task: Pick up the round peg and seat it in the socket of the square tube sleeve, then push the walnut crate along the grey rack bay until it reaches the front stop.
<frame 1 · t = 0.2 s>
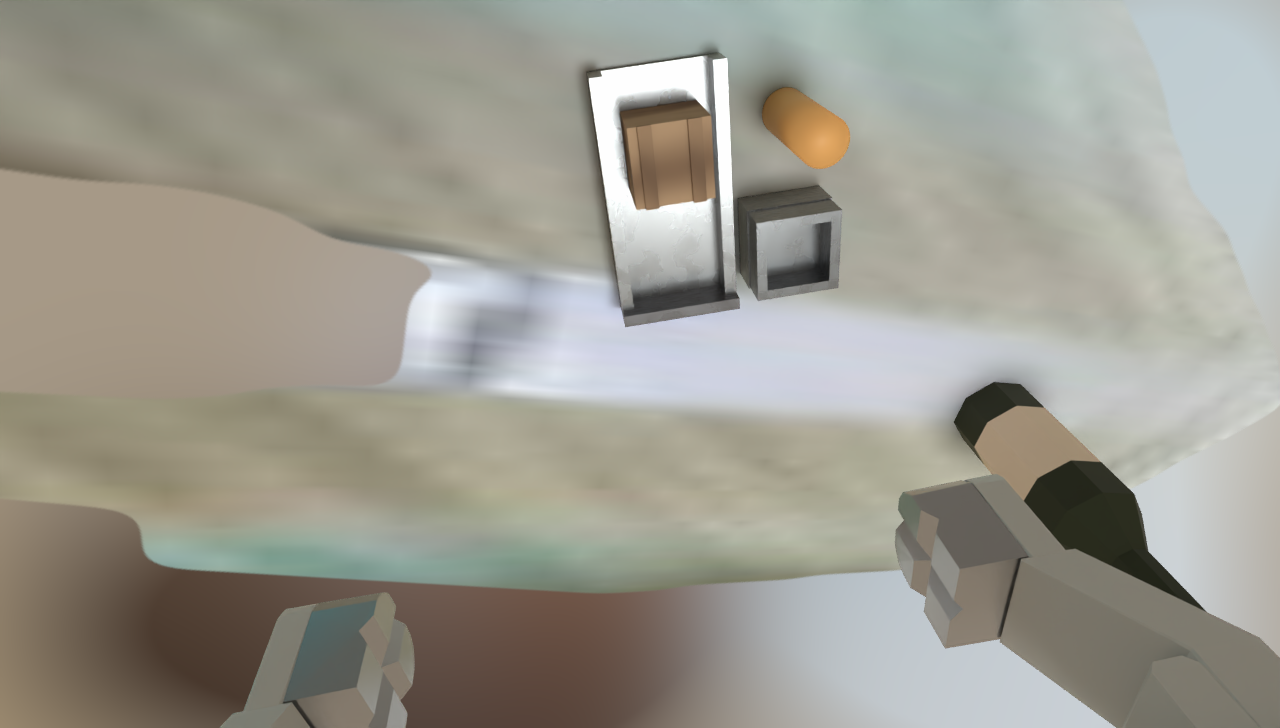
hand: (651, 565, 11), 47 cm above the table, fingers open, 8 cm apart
crate: (667, 154, 52), point 3 cm above the table, slide at 0.0 cm
square tube sleeve: (778, 230, 60), on the table
wine bottle: (990, 411, 75), on the table
round peg: (784, 111, 55), on the table
bay: (665, 192, 57), on the table
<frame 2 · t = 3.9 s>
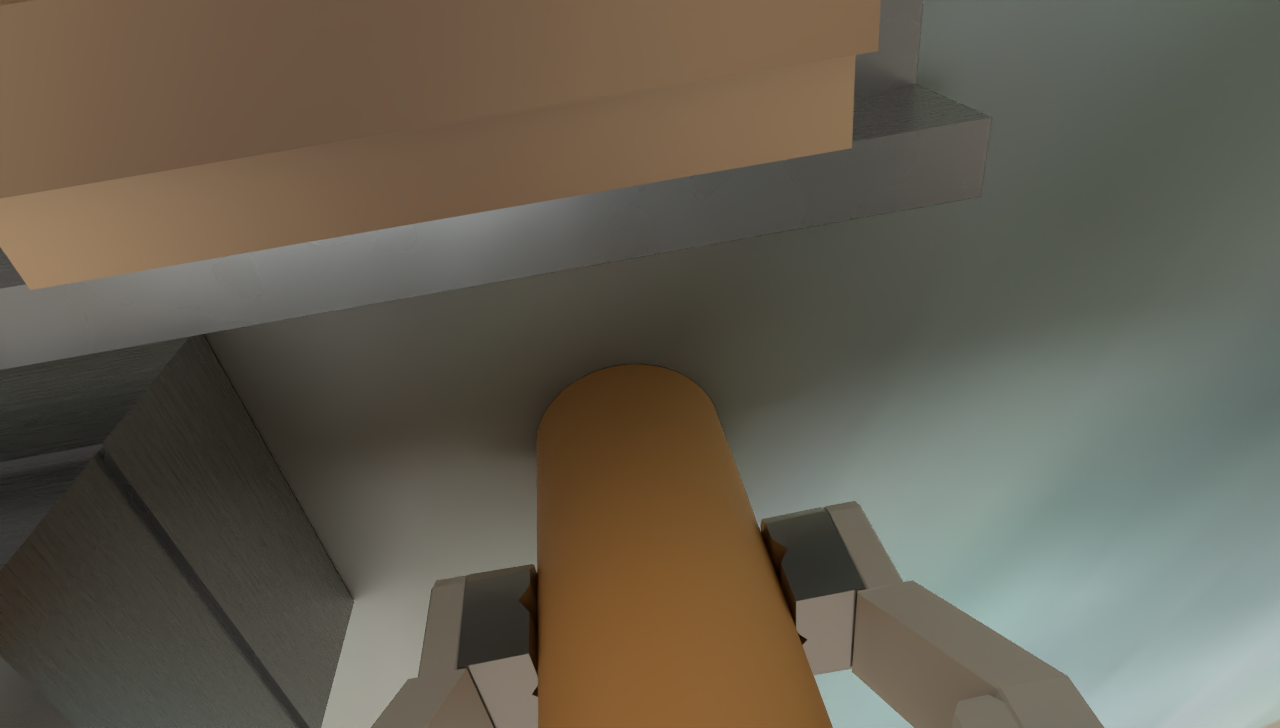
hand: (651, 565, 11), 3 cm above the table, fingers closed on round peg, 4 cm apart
square tube sleeve: (100, 518, 13), on the table
round peg: (629, 441, 14), on the table, touching gripper
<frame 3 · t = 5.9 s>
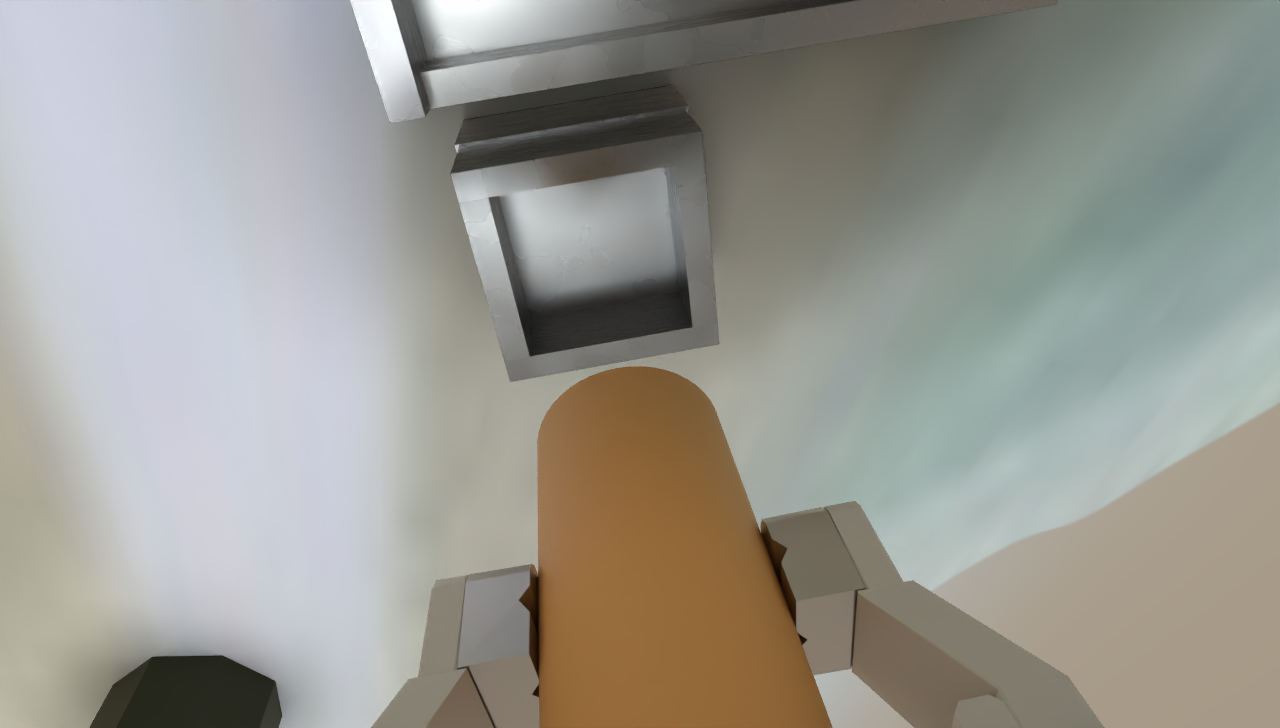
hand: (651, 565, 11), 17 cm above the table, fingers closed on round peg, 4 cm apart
square tube sleeve: (586, 202, 25), on the table
wine bottle: (202, 697, 37), on the table
round peg: (629, 443, 14), point 14 cm above the table, touching gripper
when the fingers open (8 cm above the table, at t = 8.2 s): round peg drops 1 cm, resting on square tube sleeve.
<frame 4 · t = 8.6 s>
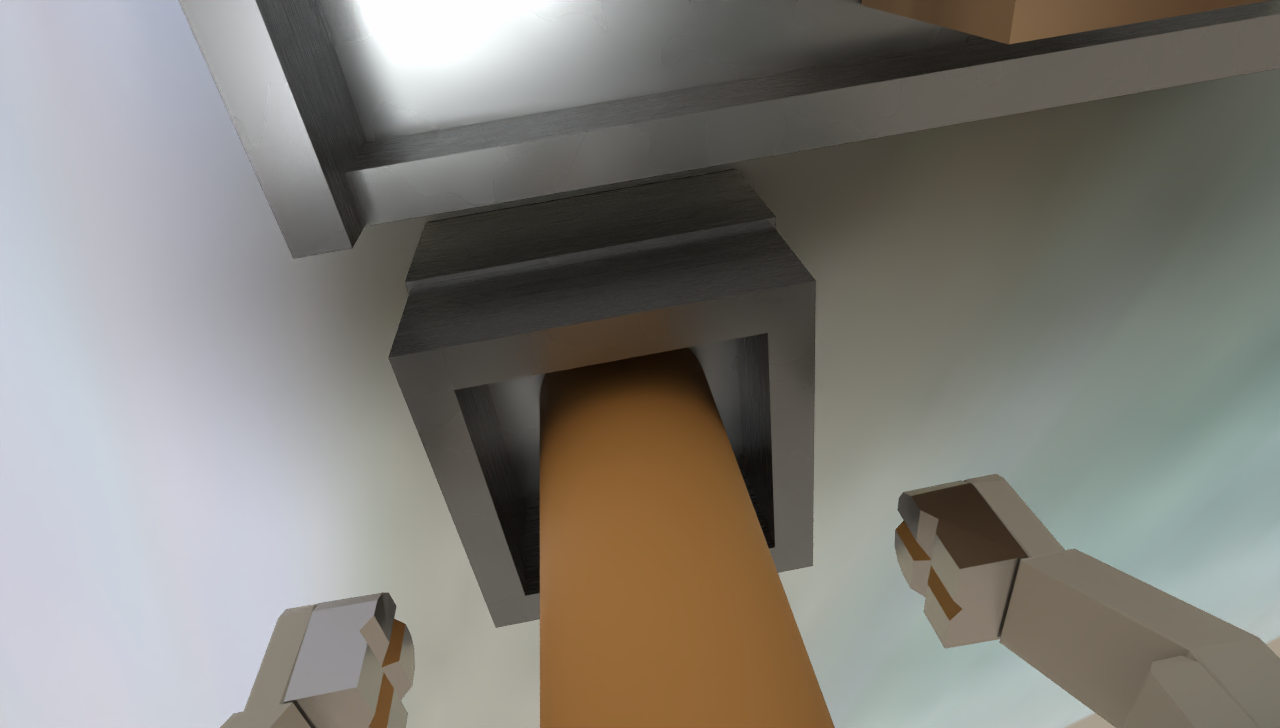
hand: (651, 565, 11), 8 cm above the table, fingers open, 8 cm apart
square tube sleeve: (607, 329, 17), on the table
round peg: (624, 399, 15), point 3 cm above the table, touching square tube sleeve
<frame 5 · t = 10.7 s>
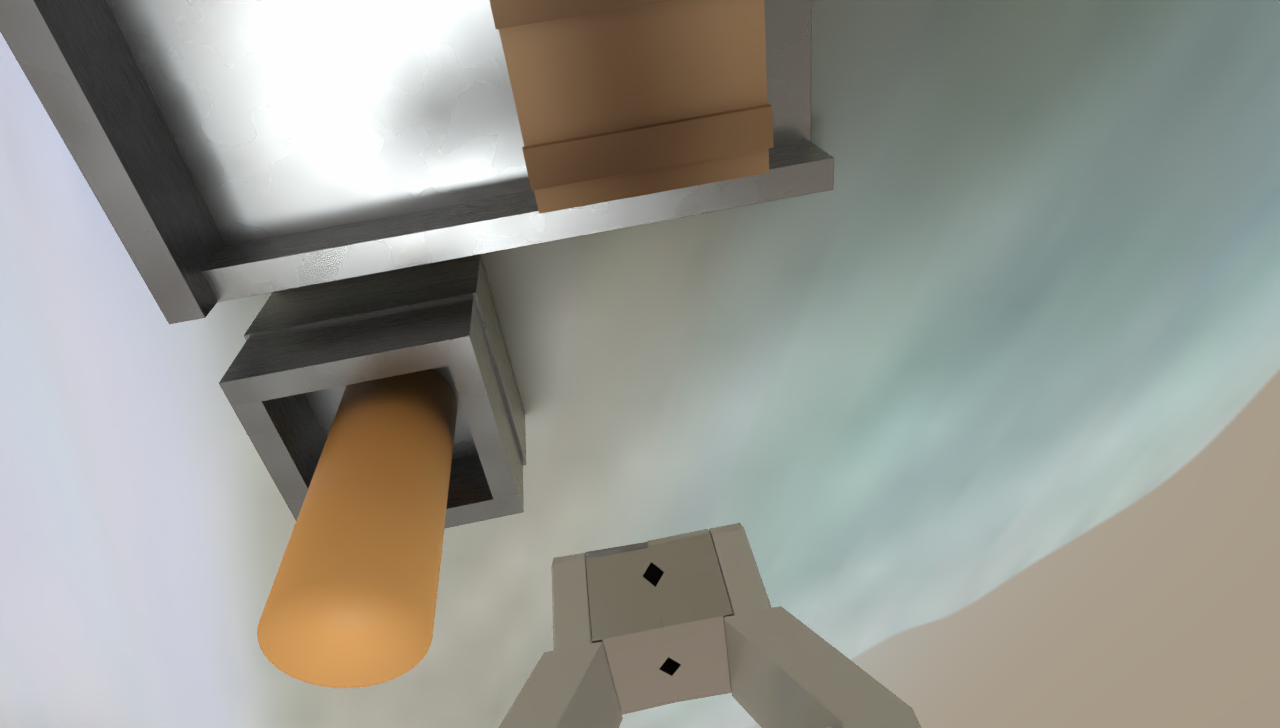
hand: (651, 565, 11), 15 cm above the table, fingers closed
crate: (626, 53, 18), point 3 cm above the table, slide at 0.0 cm
square tube sleeve: (409, 359, 25), on the table
round peg: (401, 406, 23), point 3 cm above the table, touching square tube sleeve
bay: (479, 59, 21), on the table
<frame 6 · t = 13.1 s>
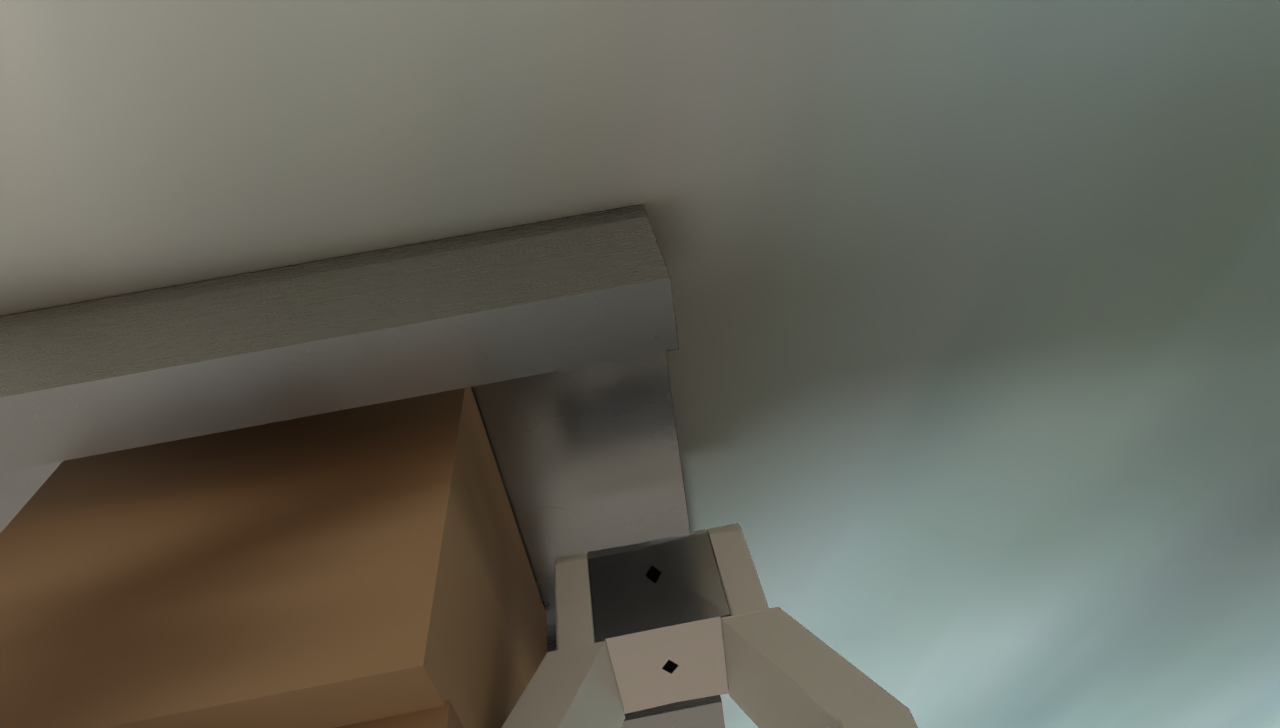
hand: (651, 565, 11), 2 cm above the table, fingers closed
crate: (303, 678, 10), point 3 cm above the table, slide at 0.1 cm, touching gripper
bay: (141, 557, 13), on the table
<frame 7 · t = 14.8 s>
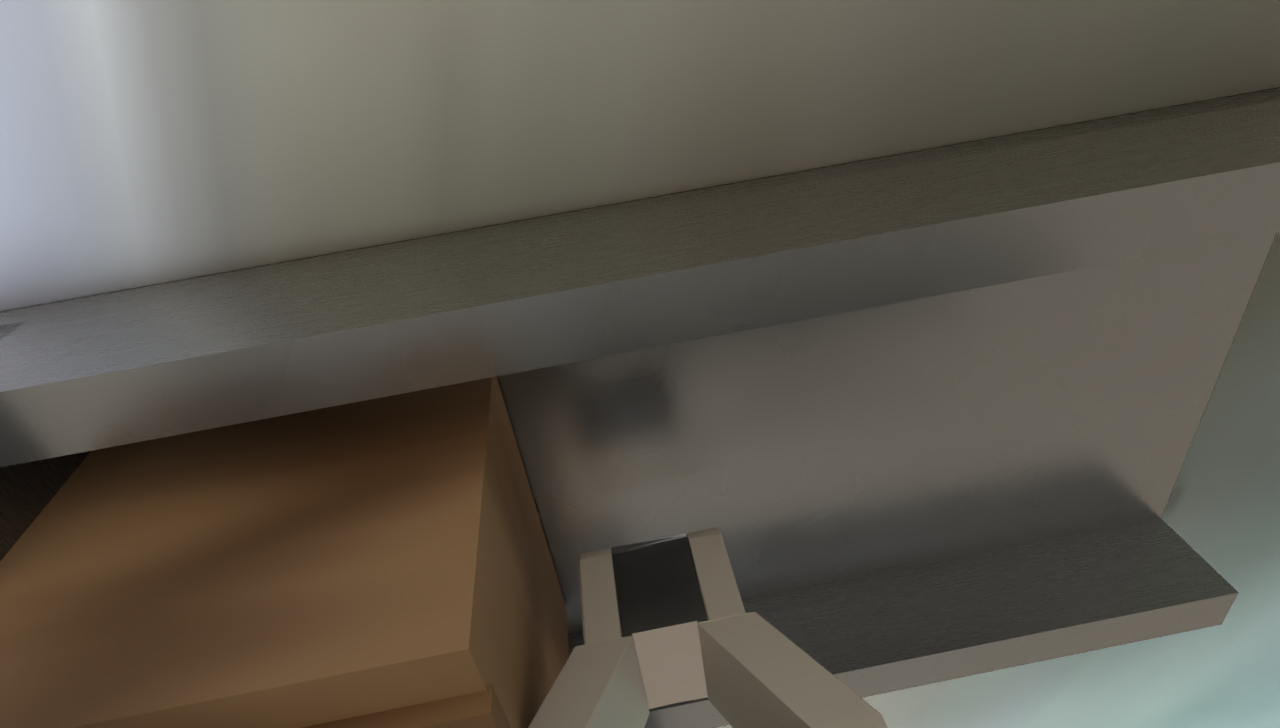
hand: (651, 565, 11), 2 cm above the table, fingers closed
crate: (332, 668, 10), point 3 cm above the table, slide at 10.0 cm, touching bay, gripper
bay: (692, 450, 13), on the table
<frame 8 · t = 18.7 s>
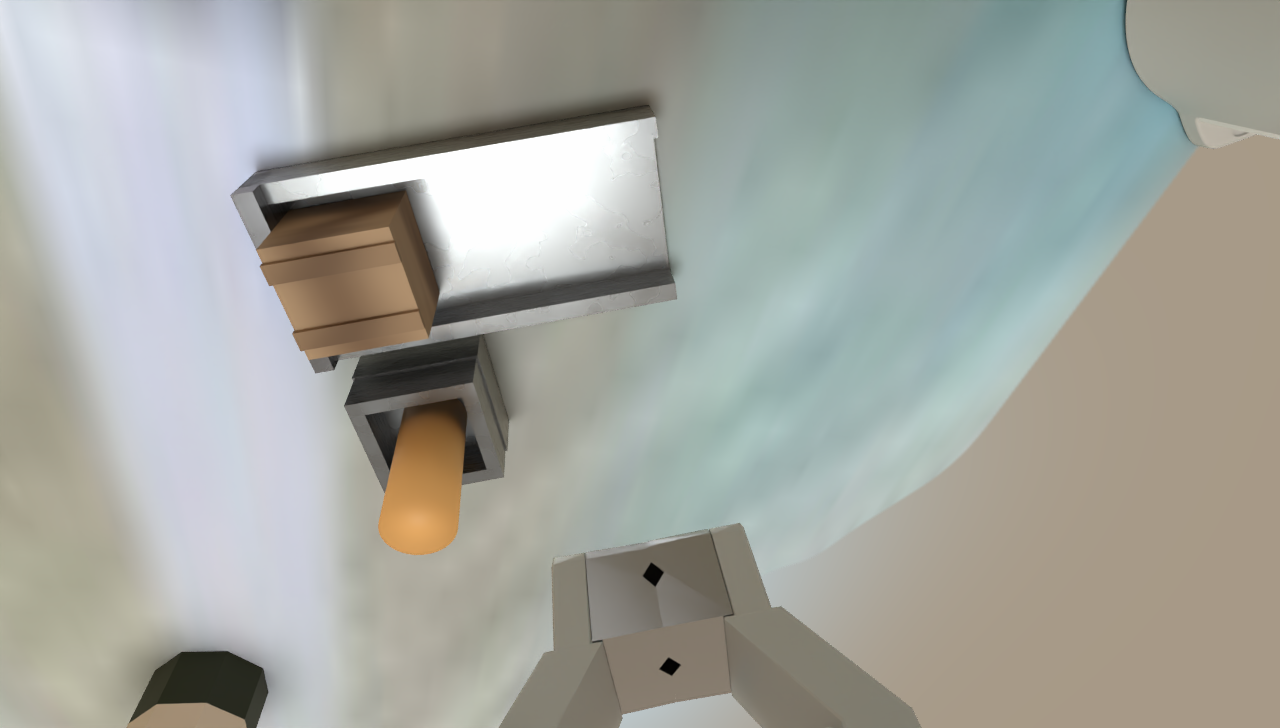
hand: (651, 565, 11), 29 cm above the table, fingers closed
crate: (357, 275, 35), point 3 cm above the table, slide at 10.0 cm, touching bay
square tube sleeve: (439, 387, 43), on the table
wine bottle: (214, 679, 55), on the table
round peg: (435, 416, 40), point 3 cm above the table, touching square tube sleeve
bay: (479, 230, 38), on the table
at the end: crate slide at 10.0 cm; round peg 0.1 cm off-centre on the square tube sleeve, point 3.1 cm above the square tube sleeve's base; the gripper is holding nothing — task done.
